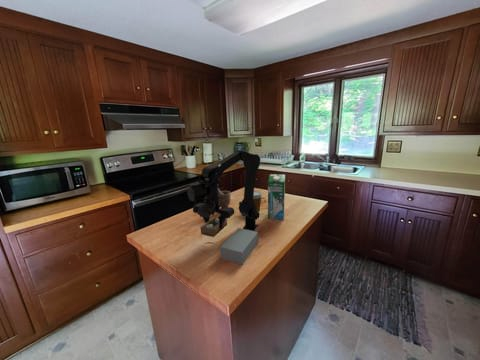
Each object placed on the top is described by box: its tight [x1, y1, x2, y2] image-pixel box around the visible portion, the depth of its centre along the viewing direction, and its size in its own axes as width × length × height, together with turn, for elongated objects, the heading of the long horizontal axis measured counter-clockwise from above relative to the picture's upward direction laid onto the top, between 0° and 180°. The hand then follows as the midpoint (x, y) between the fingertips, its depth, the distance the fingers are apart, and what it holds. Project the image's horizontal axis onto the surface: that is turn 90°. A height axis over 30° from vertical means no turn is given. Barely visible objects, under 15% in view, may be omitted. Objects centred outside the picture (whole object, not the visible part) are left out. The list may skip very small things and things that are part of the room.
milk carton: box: [267, 173, 286, 221], centre depth 121 cm, size 9×9×25 cm
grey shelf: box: [219, 227, 259, 266], centre depth 90 cm, size 17×10×6 cm, turn 155°
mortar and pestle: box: [218, 187, 232, 209], centre depth 129 cm, size 12×9×20 cm
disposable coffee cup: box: [253, 190, 263, 213], centre depth 131 cm, size 10×10×12 cm
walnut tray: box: [200, 216, 228, 238], centre depth 94 cm, size 12×6×4 cm, turn 155°
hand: (214, 227), depth 94 cm, fingers closed on walnut tray, 6 cm apart
